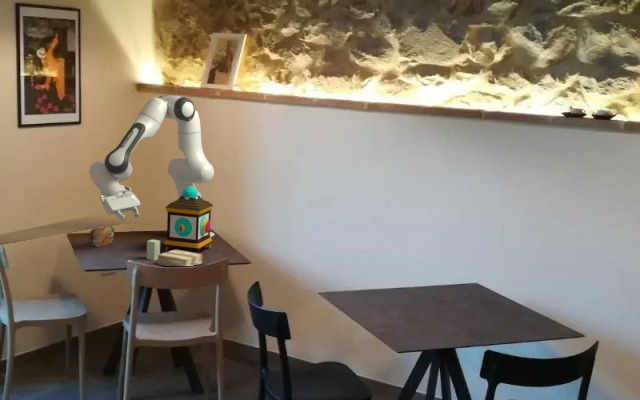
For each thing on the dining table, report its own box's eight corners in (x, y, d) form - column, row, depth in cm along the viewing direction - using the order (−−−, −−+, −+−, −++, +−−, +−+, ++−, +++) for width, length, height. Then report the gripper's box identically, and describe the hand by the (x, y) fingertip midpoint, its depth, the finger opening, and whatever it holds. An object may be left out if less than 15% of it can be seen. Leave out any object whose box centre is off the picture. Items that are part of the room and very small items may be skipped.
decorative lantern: (159, 252, 350) (160, 186, 345) (176, 243, 369) (178, 181, 364) (200, 257, 346) (202, 191, 341) (216, 247, 365) (218, 185, 360)
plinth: (175, 258, 341) (175, 249, 340) (202, 263, 336) (202, 254, 335) (157, 264, 329) (157, 255, 329) (185, 269, 324) (185, 260, 323)
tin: (92, 248, 349) (93, 230, 348) (87, 247, 351) (87, 229, 349) (115, 242, 363) (115, 225, 361) (109, 241, 364) (110, 224, 363)
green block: (152, 257, 341) (152, 239, 339) (159, 258, 339) (160, 240, 338) (146, 258, 337) (147, 241, 336) (154, 260, 335) (154, 242, 334)
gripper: (102, 191, 331) (120, 217, 329) (132, 186, 350) (149, 211, 348) (94, 200, 334) (111, 226, 331) (124, 195, 352) (141, 219, 350)
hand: (131, 218), depth 340 cm, fingers open, 8 cm apart
